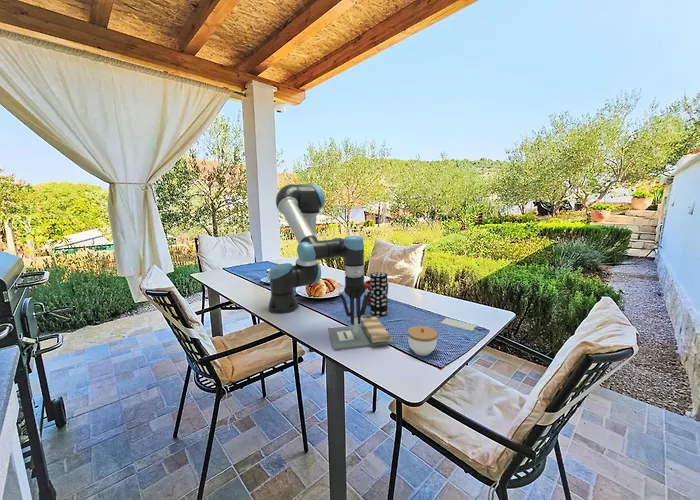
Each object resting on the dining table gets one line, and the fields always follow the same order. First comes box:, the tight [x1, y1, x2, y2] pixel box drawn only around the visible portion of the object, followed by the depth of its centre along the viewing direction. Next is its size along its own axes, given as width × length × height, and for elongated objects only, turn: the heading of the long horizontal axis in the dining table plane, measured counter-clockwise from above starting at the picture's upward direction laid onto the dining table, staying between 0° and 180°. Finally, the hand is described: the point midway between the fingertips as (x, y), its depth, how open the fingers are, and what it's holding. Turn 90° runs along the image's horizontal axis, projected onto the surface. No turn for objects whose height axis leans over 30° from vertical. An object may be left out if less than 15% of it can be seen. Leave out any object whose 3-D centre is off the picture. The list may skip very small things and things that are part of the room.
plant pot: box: [364, 279, 389, 306], centre depth 161 cm, size 13×13×12 cm
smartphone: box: [439, 317, 479, 332], centre depth 132 cm, size 7×1×15 cm
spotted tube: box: [369, 272, 388, 318], centre depth 145 cm, size 8×8×20 cm
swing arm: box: [360, 313, 391, 343], centre depth 123 cm, size 22×7×3 cm, turn 11°
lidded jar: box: [407, 325, 438, 357], centre depth 109 cm, size 11×11×9 cm
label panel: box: [328, 324, 395, 351], centre depth 123 cm, size 18×24×2 cm
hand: (355, 331), depth 120 cm, fingers closed
